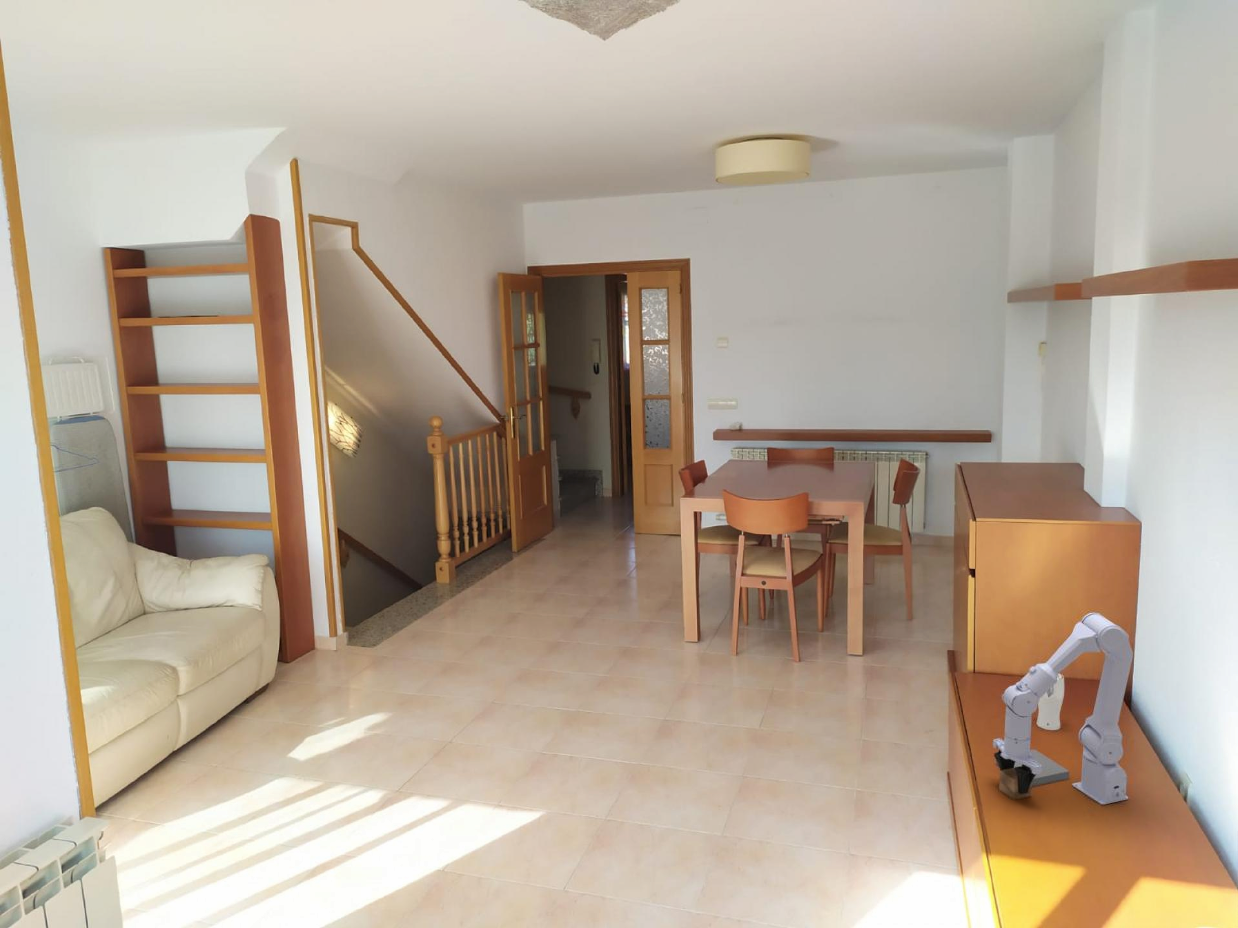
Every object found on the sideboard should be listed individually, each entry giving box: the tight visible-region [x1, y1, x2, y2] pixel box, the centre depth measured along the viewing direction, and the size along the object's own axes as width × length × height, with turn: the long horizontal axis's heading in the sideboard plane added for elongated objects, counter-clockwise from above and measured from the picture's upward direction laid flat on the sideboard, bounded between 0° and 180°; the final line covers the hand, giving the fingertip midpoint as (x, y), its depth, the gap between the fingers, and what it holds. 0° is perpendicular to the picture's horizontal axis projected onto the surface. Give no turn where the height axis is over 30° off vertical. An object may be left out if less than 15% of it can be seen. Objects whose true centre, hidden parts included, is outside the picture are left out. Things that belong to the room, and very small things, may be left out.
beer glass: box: [1036, 672, 1065, 731], centre depth 250 cm, size 7×7×15 cm
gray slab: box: [995, 749, 1070, 788], centre depth 227 cm, size 12×12×2 cm
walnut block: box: [998, 768, 1032, 800], centre depth 217 cm, size 5×5×5 cm
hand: (1015, 787), depth 217 cm, fingers closed on walnut block, 5 cm apart
